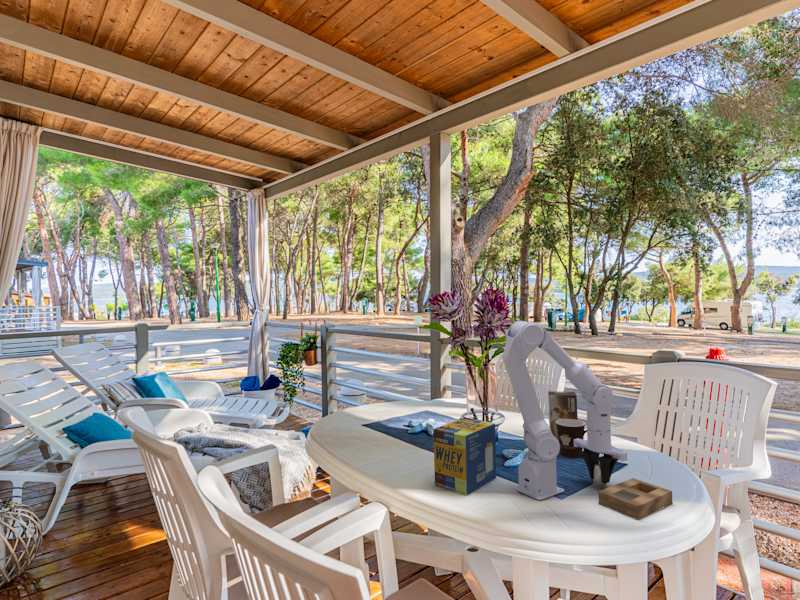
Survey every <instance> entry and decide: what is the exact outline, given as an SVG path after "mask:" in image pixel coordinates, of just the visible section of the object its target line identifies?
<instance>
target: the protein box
mask: <svg viewBox="0 0 800 600" xmlns="http://www.w3.org/2000/svg"><path fill="white" fill-rule="evenodd" d="M496 445H497V444H496V423H495V422H489V421H485V420H480V419H475V418H470V417H462V418H459V419H457V420H454V421H451V422H447V423H446V424H444V425H441V426H439V427H438V426H437V427H435V428H433V456H434V457H433V461H434V462H433V463H434V464H433V465H434V467H433V468H434V469H433V470H434V486H435V485H436V486H435V487H439V488H442V489H445V490H449V491H451V492H454V493H458V494H460V495H463V496H468V495H470V494H471V493H474V492H475V491H476V490H478V489H480V488H481V487H484V486H485V485H486V484H489V483H490V482H492V481H493V480H495V479H496V478H497V453H496V452H497V451H496Z"/></svg>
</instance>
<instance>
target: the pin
mask: <svg viewBox="0 0 800 600" xmlns="http://www.w3.org/2000/svg"><path fill="white" fill-rule="evenodd" d="M593 467H594V479H593V487H594V488H595V489H597V490H598V489H599V490H603V489H606V488H607V483H606V484H603V483H602V472H601V466H600V462H599V461H598V462H594V463H593Z"/></svg>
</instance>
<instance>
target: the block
mask: <svg viewBox="0 0 800 600" xmlns="http://www.w3.org/2000/svg"><path fill="white" fill-rule="evenodd" d="M597 494H598V505H600V506H602V507H603V506H604V507H606V508H608V509H611V510H613V511H615V512H618V513H620V514H623V515H626V516H628V517H631V518H632V519H634V520H635V519H636V520H640V519H642V518H645V517H647V516H649V515H651V514H654V513H655V511H656V512H657V510H658V511H659V509H660V510H662V509H664V508H666V507H668V506H670V505H669V504H671V503H672V504H673V491H672V490H669V489H667V488H663V487H661V486H658V485H655V484H652V483H648V482H646V481H642V480H640V479H636V478H633V477H632V478H630V479H627V480H623V481H622V482H619V483H616V484H614V485H611V486H609V487H606V489H600V490H599V491H598V493H597ZM672 504H671V505H672ZM667 505H668V506H667ZM665 506H666V507H665ZM663 507H664V508H663ZM661 508H662V509H661ZM653 512H654V513H653ZM644 516H645V517H644Z"/></svg>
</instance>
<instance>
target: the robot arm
mask: <svg viewBox="0 0 800 600" xmlns="http://www.w3.org/2000/svg"><path fill="white" fill-rule="evenodd" d="M505 339H506V340H505V344H504V350H503V354H502V360H503V363H504V366H505V369H506V372H507V377H508V378H509V381H510V385H511V387H512V391H513V392H514V396H515V399H516V402H517V404H518V408H519V411H520V414H521V416H522V420H523V424H522V428H523V442H524V445H525V446H526V447H527V452H526V457H525V459H523V460H522V461H520V463H519V464H518V467H517V468H518V469H517V471H518V474H517V475H518V477H517V478H518V487H516V488H515V489H516V491H517V492H519V493H522V494H524V495H527V496H528V497H531V498H533V499H535V500H538V501H542V500H545V499H547V498H550V497H553V496H555V495H559V494H561V493H564V492H565V489H564V488H562V487H560V486H558V485H557V479H558V478H557V457H558V455H560V444H559V441H558V440H557V439H556V438H555V437H554V436H553V434H552V432H551V429H550V427H549V424H548V423H547V421H546V420H545V418H544V414H543V411H542V409H541V406H540V402H539V400H538V397H537V394H536V390H535V387H534V385H533V381H532V379H531V376H530V371H529V369H528V366H527V364H526V363H527V359H528V358H529V356H530V355H531V353H532V352H534V350H536V349H537V348H538V349H540V350H543V351H544V352H545V353H546V354H547V355H548V356H549V357H550V358H552V360H553V361H555V362H556V363H557V364H558V365H559V366H560V367H562V368H563V369H564V376H565V378H566V380H568V382H570V383H571V384H572V385H573V386H574V387H575V388H576V389H577V390H578V391H579V392H580V393H581V397H582V398H583V399H584V400H586V430H587V432H586V433H587V434H586V435H587V436H586V437H587V439H584V438H583V439H579V438H577V439H574V447H581V448H583V449H582V452H581V457H582V460H583V461H584V463H585V465H586V467H587V468H586V469H587V471H588V475H589V477H590V480H593V481H594V467H593V463H594V462H600V466H601V472H602V483H603V484H606V485H607V484H608V483H610V481H611V477H612V473H613V470H614V469H615V466H616V464H617V462H618V461H619V462H625V461H628V452H627V451H624V450H622V449H620V448H619V447H615V446H614V445H612V430H611V429H612V427H611V424H612V423H611V410H612V409H611V408H612V405H613V404H614V402H615V399H616V395H614V393H613V390H612V388H611V387H610V386H608V385H606V384H603V383H602V381H603V380H602V378H601V377H600V376H596V375H595V374H594V372H592V370H590V365H589V364H588V363H584V362H582V361H575V360H574V359H573V358H572V357H571V355H569V353H568V352H567V351H566V350H565V349H564V347H562V346H561V345H560V344H559V342H557V340H556V339H555V338H554V337H553V336H552V334H551V333H550V332H549V331H547V330H546V329H544V327H542V325H541V324H539V323H537V322H532V321H530V322H529V321H526V320H516V321H514V322H512V323H511V325H509V328H508V329H507V330H506V332H505ZM600 454H601V455H602V456H600Z"/></svg>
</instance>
